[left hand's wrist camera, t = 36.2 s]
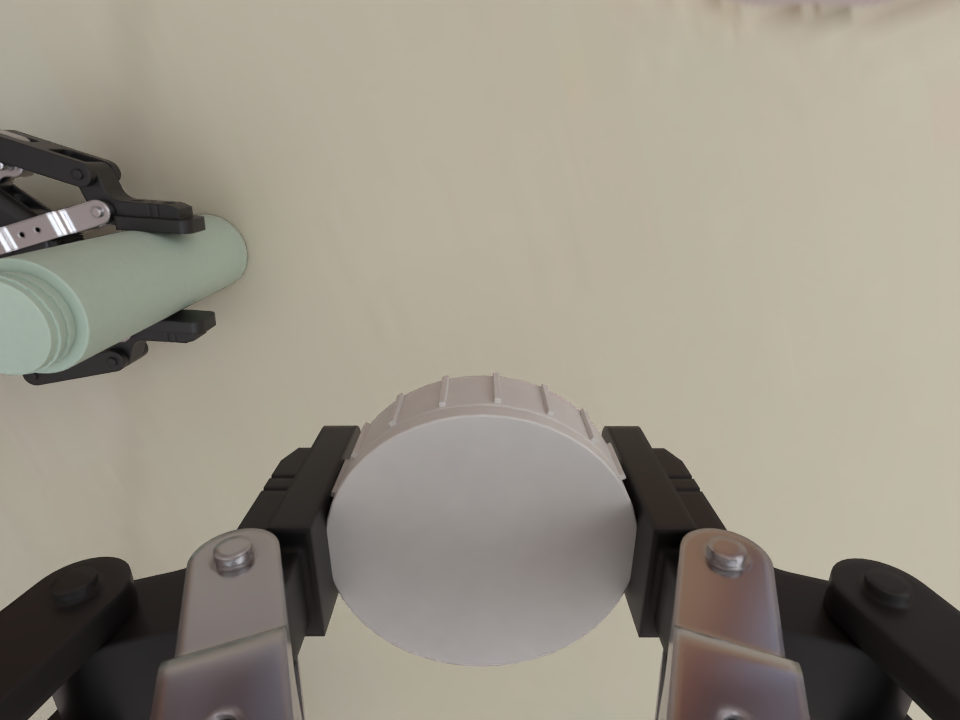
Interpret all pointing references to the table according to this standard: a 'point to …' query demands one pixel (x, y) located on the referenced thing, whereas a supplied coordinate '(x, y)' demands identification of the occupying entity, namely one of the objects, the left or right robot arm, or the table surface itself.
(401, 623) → the lid
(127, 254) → the jar
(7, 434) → the table surface
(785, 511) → the table surface
